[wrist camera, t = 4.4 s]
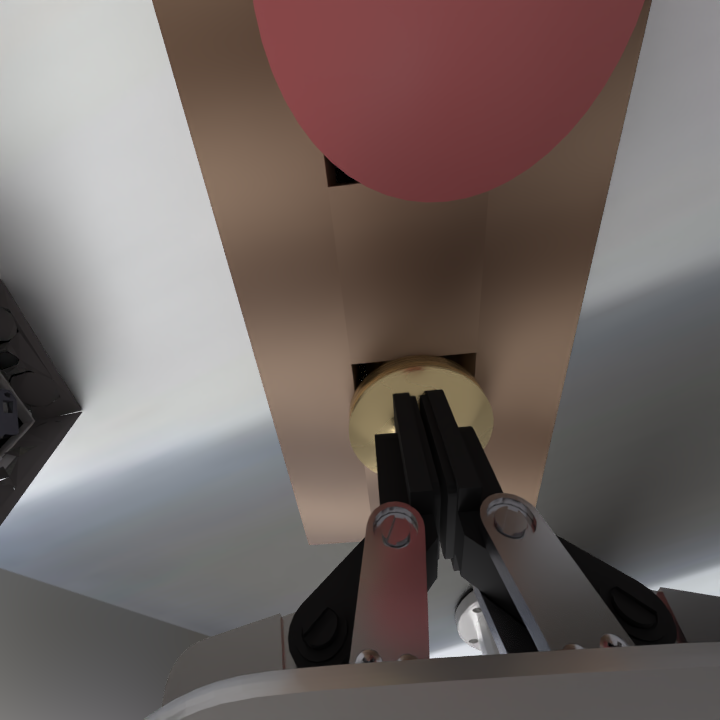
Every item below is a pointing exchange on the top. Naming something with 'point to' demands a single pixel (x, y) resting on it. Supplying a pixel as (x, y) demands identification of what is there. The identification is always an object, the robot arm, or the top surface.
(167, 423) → the top surface
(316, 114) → the oxblood plug
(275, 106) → the plug block
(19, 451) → the electrical switch
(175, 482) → the top surface
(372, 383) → the brass plug
